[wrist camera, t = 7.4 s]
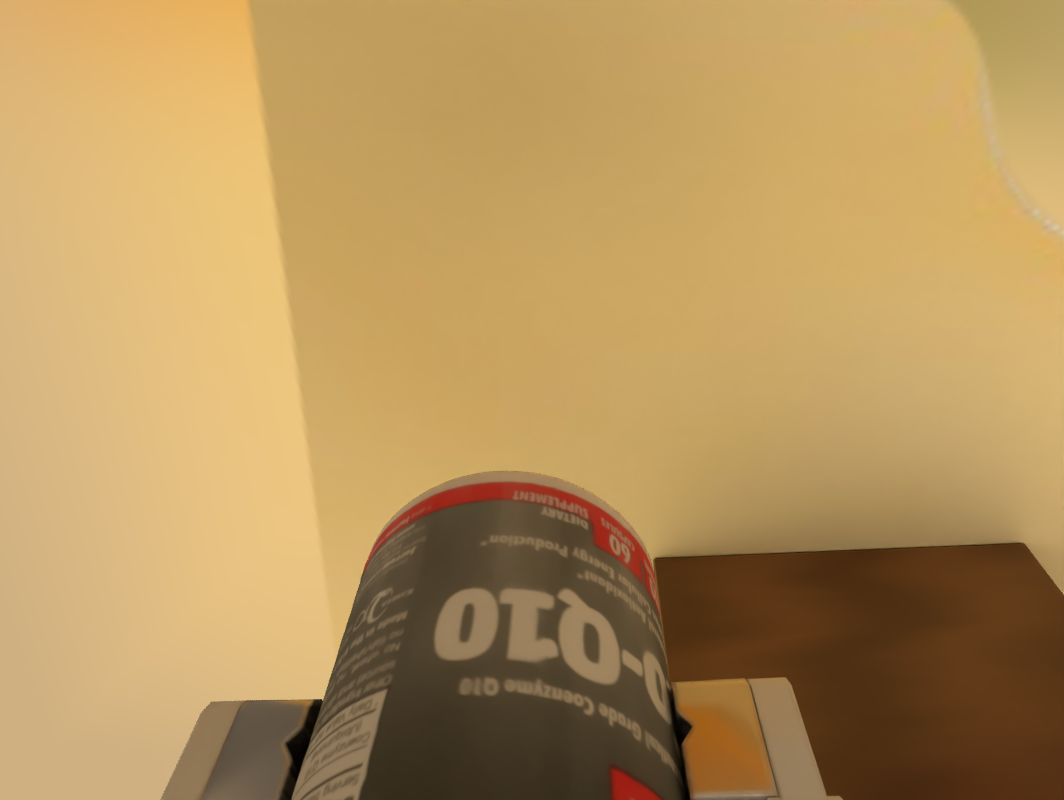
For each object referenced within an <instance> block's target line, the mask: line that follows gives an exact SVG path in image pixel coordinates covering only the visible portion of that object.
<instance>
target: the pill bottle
mask: <svg viewBox="0 0 1064 800" xmlns="http://www.w3.org/2000/svg"><path fill="white" fill-rule="evenodd" d="M291 800H686V797H685V791H684V784H683V777H682V770H681V757H680V748H679V744H678V740H677V736H676V729H675V722H674V715H673V708H672V701H671V694H670V681H669V674H668V667H667V660H666V652H665V645H664V638H663V631H662V625H661V615H660V610H659V601H658V592H657V587H656V582H655V575H654V571H653V567H652V563H651V560H650V557H649V554H648V552H647V550H646V548H645V546H644V544H643V542H642V540H641V539H640V537H639V536H638V534H637V533H636V531H635V530H634V529H633V527H632V526H631V525H630V524H629V523H628V522H627V520H626V519H625V518H624V517H623V516H622V515H621V514H620V513H619V512H617V511H616V510H615V509H614V508H613V507H611V506H610V505H609V504H607V503H606V502H605V501H603V500H602V499H601V498H599V497H597V496H596V495H594V494H593V493H591V492H589V491H587V490H585V489H584V488H581V487H579V486H577V485H575V484H572V483H570V482H567V481H564V480H562V479H559V478H555V477H551V476H547V475H542V474H537V473H530V472H519V471H492V472H482V473H476V474H472V475H468V476H463V477H459V478H456V479H453V480H450V481H447V482H445V483H442V484H440V485H438V486H436V487H434V488H432V489H429V490H427V491H426V492H424V493H422V494H421V495H419V496H418V497H416V498H415V499H413V500H412V501H411V502H409V503H408V504H407V505H405V506H404V507H403V508H402V509H400V510H399V511H398V512H397V513H396V514H395V515H394V516H393V517H392V518H391V520H390V521H389V522H388V523H387V524H386V525H385V527H384V528H383V530H382V531H381V533H380V534H379V536H378V538H377V539H376V541H375V543H374V545H373V548H372V550H371V553H370V555H369V558H368V560H367V562H366V564H365V567H364V571H363V574H362V577H361V581H360V585H359V588H358V591H357V594H356V597H355V600H354V604H353V607H352V611H351V614H350V617H349V620H348V623H347V626H346V629H345V632H344V635H343V638H342V641H341V644H340V648H339V651H338V655H337V658H336V662H335V665H334V668H333V671H332V674H331V677H330V680H329V684H328V687H327V690H326V693H325V697H324V700H323V703H322V706H321V709H320V712H319V715H318V718H317V721H316V724H315V727H314V730H313V733H312V737H311V740H310V743H309V746H308V750H307V752H306V755H305V758H304V761H303V763H302V767H301V770H300V773H299V776H298V779H297V783H296V786H295V789H294V792H293V796H292V799H291Z"/></svg>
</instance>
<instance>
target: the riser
mask: <svg viewBox="0 0 1064 800" xmlns="http://www.w3.org/2000/svg"><path fill="white" fill-rule="evenodd" d="M654 575H655V582H656V587H657V592H658V601H659V610H660V615H661V625H662V631H663V638H664V645H665V652H666V660H667V667H668V674H669V681H670V685H671V682H688V681H705V680H722V679H740V678H745V679H746V680H747V679H760V678H779V677H785V678H786V679H787V680H788V681H789V682H790V684H791V685H792V689H793V692H794V695H795V698H796V701H797V704H798V707H799V710H800V713H801V717H802V720H803V723H804V726H805V729H806V732H807V735H808V738H809V742H810V745H811V748H812V751H813V754H814V757H815V760H816V763H817V766H818V770H819V773H820V776H821V779H822V782H823V785H824V788H825V791H826V795H827V796H840V797H841V798H842V799H843V800H1064V595H1063V594H1062V592H1061V591H1060V590H1059V588H1058V587H1057V586H1056V584H1055V583H1054V582H1053V580H1052V579H1051V578H1050V577H1049V575H1048V574H1047V573H1046V571H1045V570H1044V569H1043V567H1042V566H1041V565H1040V563H1039V562H1038V561H1037V559H1036V558H1035V557H1034V555H1033V554H1032V553H1031V552H1030V550H1029V549H1028V548H1027V546H1026V545H1025V544H1000V545H976V546H952V547H928V548H903V549H879V550H855V551H830V552H806V553H782V554H758V555H733V556H709V557H685V558H661V559H654Z"/></svg>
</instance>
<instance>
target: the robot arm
mask: <svg viewBox="0 0 1064 800" xmlns="http://www.w3.org/2000/svg"><path fill="white" fill-rule="evenodd" d="M670 694H671V701H672V708H673V715H674V722H675V729H676V736H677V740H678V744H679V748H680V757H681V770H682V777H683V784H684V791H685V797H686V800H843V799H842V798H841V797H840V796H827V795H826V791H825V788H824V785H823V782H822V779H821V776H820V773H819V770H818V766H817V763H816V760H815V757H814V754H813V751H812V748H811V745H810V742H809V738H808V735H807V732H806V729H805V726H804V723H803V720H802V717H801V713H800V710H799V707H798V704H797V701H796V698H795V695H794V692H793V689H792V685H791V684H790V682H789V681H788V680H787V679H786V678H785V677H779V678H760V679H747V680H746V679H745V678H740V679H722V680H705V681H688V682H671V685H670ZM322 703H323V701H322V699H320V700H319V699H313V700H254V701H253V700H250V701H248V700H247V701H220V702H211V703H210V704H209V705H208V706H207V707H206V708H205V709H204V710H203V711H202V713H201V714H200V716H199V719H198V720H197V723H196V725H195V727H194V729H193V731H192V733H191V735H190V738H189V740H188V742H187V744H186V746H185V748H184V750H183V753H182V755H181V757H180V759H179V761H178V763H177V765H176V768H175V770H174V772H173V774H172V776H171V778H170V780H169V782H168V785H167V787H166V789H165V791H164V793H163V795H162V797H161V800H291V799H292V796H293V792H294V789H295V786H296V783H297V779H298V776H299V773H300V770H301V767H302V763H303V761H304V758H305V755H306V752H307V750H308V746H309V743H310V740H311V737H312V733H313V730H314V727H315V724H316V721H317V718H318V715H319V712H320V709H321V706H322Z"/></svg>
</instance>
